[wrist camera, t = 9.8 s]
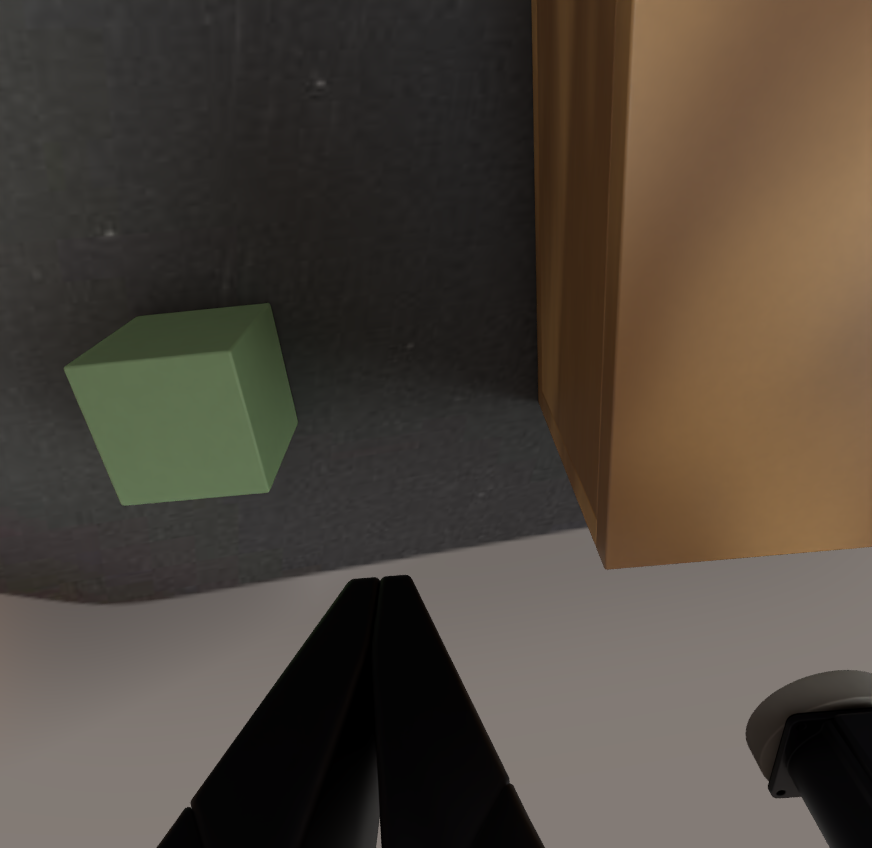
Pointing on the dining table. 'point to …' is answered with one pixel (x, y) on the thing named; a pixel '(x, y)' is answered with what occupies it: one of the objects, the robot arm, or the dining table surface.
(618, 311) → the cabinet
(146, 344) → the block
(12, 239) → the dining table surface
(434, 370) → the dining table surface
